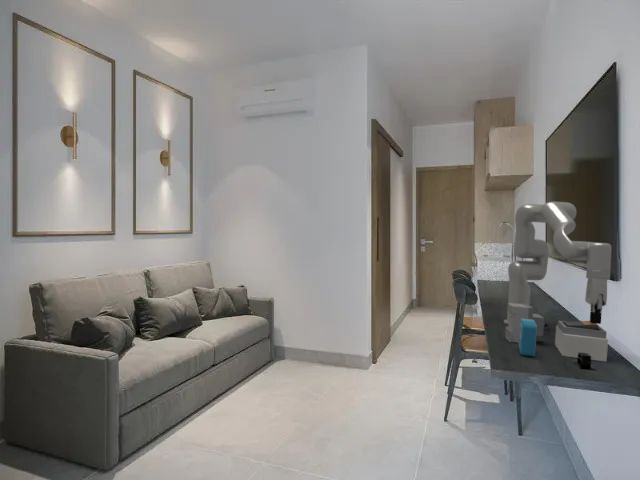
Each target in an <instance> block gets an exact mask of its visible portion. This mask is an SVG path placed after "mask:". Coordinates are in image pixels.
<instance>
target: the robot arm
mask: <svg viewBox="0 0 640 480" xmlns="http://www.w3.org/2000/svg"><path fill="white" fill-rule="evenodd" d="M514 215H515V216H514V218H515V220H514V221H515V236H514V246H513V253H514V255H515V257H517V258H520V259H532V260H514V261H512V262H510V264H509V265H508V268H507V272H508V273H507V274H508V278H509V279H508V281H509V284H508V285H509V286H508V301H507V302H508V303H514V304H527V305H529V306H531V305H530V303H531V302H530V301H531V287H530V285H529V282H528V281H541V280H543V279H545V278H546V275H547V271H548V264H549V262H548V261H549V256H550V255H549V253H550V248H549V245H548V243H547V242H546V241H545V240H543V239H539V238H537V239H535V237H536V229H535V226H534V225H533V223H543V224H544V223H545V224H548V225H549V227H550V228H551V230H552V231H553V232H554V233H553V237H552V240H553V245H554V246H553V247H554V248H555V249H556V250H557V252H558V253H559V254H560V256H562V257H563V258H564V259H566V260H568V261H570V260H571V261H585V262H586V273H585V274H586V275H585V278H586V279H587V281H586V289H585V298H584V300H585V303H586V304H589V305H590V312H589V321H590V322H591V323H596V324H597V325H600V324H601V323H602V312H603V311H602V310H603V307H604V306H606V305H607V300H608V281H610V279H611V266H612V264H611V263H612V245H611V244H610V243H608V242H593V241H584V240H583V241H581V240H580V241H579V240H571V239H570V238H569V236H568V235H570V234H571V233H572V232H573V231H574V230H575V229H576V222H575V218H576V216H577V208H576V206H575V204H572V203H570V202H566V201H548V202H545V203H544V204H539V203H538V204H537V203H525V204H523V205H520V206H519V207H518V208H517V210H516V211H515V214H514ZM508 303H507V304H508ZM503 323H504V324H505V325H508V323H509V316H508V315H507V317H506V318H505V319H503Z"/></svg>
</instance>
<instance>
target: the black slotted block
mask: <svg viewBox="0 0 640 480" xmlns="http://www.w3.org/2000/svg"><path fill="white" fill-rule="evenodd" d="M571 363H573V364H574V365H575V366H576V367H577V368H578V369H580V370H585V371H594V372H599V370H598V369H596V367H594V366H593V365H592V360H591V356H590V355H589V354H587V353H580V352H578V357H577V360H571Z"/></svg>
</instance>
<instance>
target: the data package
mask: <svg viewBox="0 0 640 480" xmlns="http://www.w3.org/2000/svg"><path fill="white" fill-rule="evenodd" d="M536 333H537V325H536V323H535V321H534V320H531V319H522V318H521V322H520V337H519V343H518V348H519V352H520V355H521V356H525V357H533V358H535V356H536V345H537V336H536Z"/></svg>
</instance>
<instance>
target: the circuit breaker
mask: <svg viewBox="0 0 640 480" xmlns="http://www.w3.org/2000/svg"><path fill="white" fill-rule="evenodd" d="M506 308H507V309H506V314H507V316H509V323H508V324H507V326H505V337H504V338H505V339H506V340H507V341H508V342H509V343H514V342H517V344H519V337H520V322H521V318H522V319H531V320H534V321H535V323H536V325H537V333H536V337H544V330H545V329H544V328H545V327H546V328H547V326H548V324H547V323H545V317H543V316H542V315H540V314H539V313H534V307H533V306H531V305H530V306H529V305H527V304H514V303H507V307H506Z"/></svg>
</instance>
